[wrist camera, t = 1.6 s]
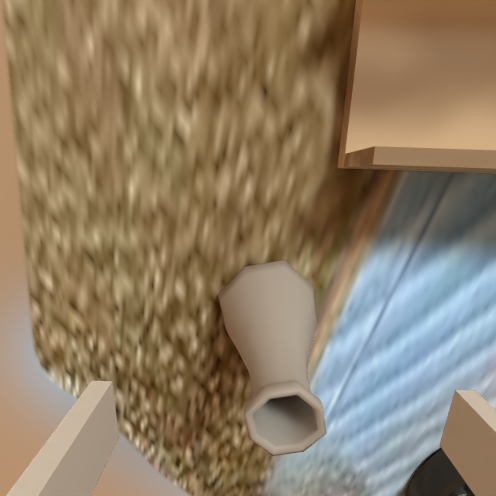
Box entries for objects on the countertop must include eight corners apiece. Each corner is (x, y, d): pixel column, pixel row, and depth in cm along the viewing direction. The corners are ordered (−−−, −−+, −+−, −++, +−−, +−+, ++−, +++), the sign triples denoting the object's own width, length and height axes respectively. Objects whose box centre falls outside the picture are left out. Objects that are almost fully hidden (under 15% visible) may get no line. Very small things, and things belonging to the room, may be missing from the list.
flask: (248, 362, 21) (248, 515, 12) (201, 288, 20) (156, 393, 10) (332, 323, 21) (406, 453, 11) (289, 241, 19) (332, 309, 9)
